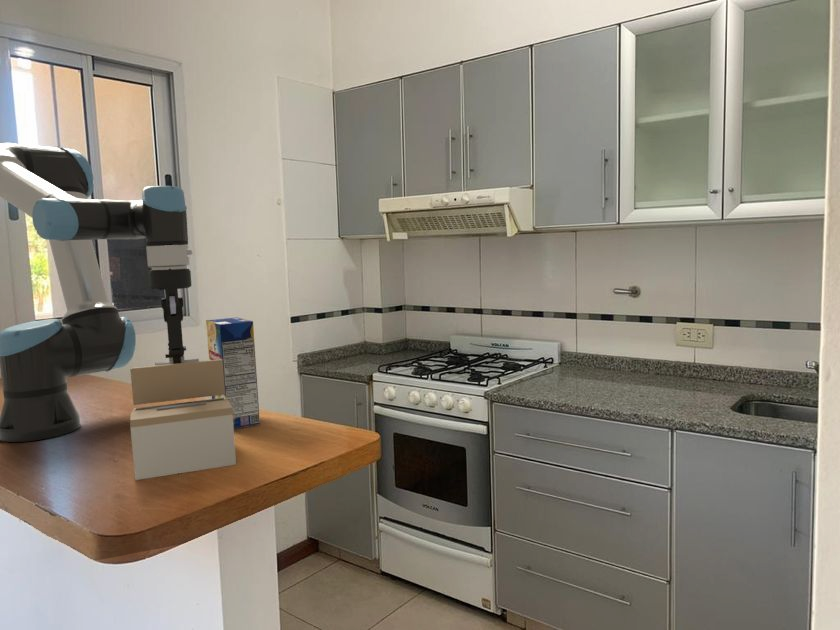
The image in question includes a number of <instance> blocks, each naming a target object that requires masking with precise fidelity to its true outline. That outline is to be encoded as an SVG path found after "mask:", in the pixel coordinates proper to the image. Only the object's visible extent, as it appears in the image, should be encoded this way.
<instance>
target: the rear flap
mask: <svg viewBox="0 0 840 630" xmlns="http://www.w3.org/2000/svg"><path fill="white" fill-rule="evenodd" d="M184 361H185V363H177V364H169V361H160V362H155V363H154V365H150V366H149V365H148V366H139V367H130V380H131V392H132V402H133V406H137V405H138V406H139V405H145V404H153V403H163V402H171V401H180V400H188V399H189V400H190V399H197V398H205V397H208V398H209V397H212V396H216V395H225V385H224V371H223V360H222V359H219V360H209V359H207V360H200V359H199V358H192V359H184Z"/></svg>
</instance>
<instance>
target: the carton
mask: <svg viewBox="0 0 840 630" xmlns="http://www.w3.org/2000/svg"><path fill="white" fill-rule="evenodd" d="M129 425H130V435H131V436H130V437H131V449H132V458H133V470H134V472H133V473H134V480H135V481H139V480H145V479H153V478H159V477H165V476H166V477H167V476H171V475H177V474H178V473H179V474H184V473H190V472H196V471H203V470H209V469H210V470H211V469H216V468H224V467H230V466H235V465H236V466H237V459H236V458H237V457H236V447H235V446H236V444H235V431H234V430H235V429H234V428H233V415H232V407H231V405H230V402H229V400H226V399H225V398H218V399H212V398H210V399H203V400H202V399H201V400H193V401H186V402H177V403H169V404H168V403H167V404H160V405H152V406H144V407H136V408H133V410H131V413H130V417H129ZM179 474H178V475H179Z"/></svg>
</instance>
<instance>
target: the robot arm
mask: <svg viewBox="0 0 840 630" xmlns="http://www.w3.org/2000/svg"><path fill="white" fill-rule="evenodd" d="M93 181H94V174H93V170H92V166H91V165H90V163H89V161H88V160H87V158H86V156H84V155H83V153H81V152H79V151H78V150H75V149H73V148H71V149H70V148H65V147H62V146H54V147H53V146H41V145H31V144H20V143H12V142H4V143H0V200H2V201H6V202H7V203H9V204H11V205H12V206H13V207H16V209H18V210H20V211H21V212H23V213H24V214H26V215H28V216H29V217H30V218H32V224H33V228H34V230H35V231H36V233H37V235H38V236H39V238H41V239H42V240H43V239H44V240H46V241H49V245H50V249H51V253H52V258H53V261H54V265H55V268H56V271H57V276H58V281H59V283H60V288H61V292H62V297H63V299H64V304H65V308H66V313H65V314H64V315H63V317H62V318H61V320H60V319H58V318H47V319H40V320H34V321H28V322H25V323H24V322H23V323H19V324H15V325H13V326H12V325H11V326H9V327H7V328H4V329H3V330H1V332H0V374H1V383H2V384H1V385H2V393H3V404H2V408H1V412H0V441H1V442H8V443H11V442H12V443H19V442H21V443H22V442H24V443H25V442H33V441H38V440H39V441H40V440H46V439H51V438H55V437H59V436H62V435H66V434H69V433H72V432H74V431H76V430H78V429H79V428H80V427H81V420H80V414H79V412H78V410H77V408H76V406H75V405H74V402H73V400H72V398H71V395H70V394H69V391H68V381H67V378H73V377H80V376H84V375H91V374H95V373H96V374H97V373H101V372H111V371H113V370H117V369H120V368H124V367H126V366H127V365H129V363H130V362H131V360H132V359H133V357H134V353H135V351H136V345H137V343H136V342H137V340H136V339H137V338H136V330H135V327H134V324H133V323H132V322H131V320H130V319H129V318H127V317H125V316H120V313H119V309H118V308H117V307H116V306H115V305H113V304H111V303H109V299H108V295H107V292H106V288H105V285H104V281H103V278H102V274H101V273H102V272H101V270H100V265H99V263H98V258H97V255H96V251H95V247H94V243H93V240H94V241H95V240H128V241H130V240H131V241H133V240H135V241H138V240H141V239H145V242H146V243H145V244H146V247H145V249H146V259H147V260H146V261H147V267H148V268H151V270H149V272H148V282H149V288H150V290H154V291H161V290H163V291H164V292H165V293H164V294H165V297H164V298H160V302H161V303H160V305H161V309H162V311H163V320H164V322H165V323H166V326H167V329H166V330H167V338H168V343H167V349H168V350H167V351H168V353H167V354H164V356H165V359H168V360H169V361H168V362H169V364H177V363H185V361H184V360H185V351H187V346H184V345H183V344H184V342H183V332H182V331H183V330H182V322H183V320H184V313H183V311H184V310H183V309H184V298H183V297H179V291H178V289H179V290H180V289H188V288H191V287H192V276H191V275H192V274H191V270H190V268H187V266H189V265H190V264H191V263H190V257H189V256H191V255H193V250H192V249H189V234H188V233H189V232H188V216H187V206H186V205H187V204H186V201H185V200H186V199H185V192H184V189H182V187H180V186H175V185H174V186H173V185H149V186H145V187H144V188H143V190H142V191H141V195H142V196H141V199H139V200H123V199H122V200H121V199H120V200H119V199H117V200H116V199H89V197H90V196H91V195H92V194H93V192H94V186H95V185H94V182H93Z"/></svg>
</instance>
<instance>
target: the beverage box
mask: <svg viewBox="0 0 840 630" xmlns="http://www.w3.org/2000/svg"><path fill="white" fill-rule="evenodd" d="M205 322H206V323H205V325H206V326H205V327H206V337H207V339H206V340H207V350H208V351H207V353H208V360H219V359H222V360H223V371H224V385H225V395H216V396H211V399H218V398H225V399H226V400H229V402H230V405H231V407H232V415H233V428H234V430H236V429H242V427H243V428H248V427H253V426H252V425H254V426H258V425H257V424H259V425H261V422H260V421H261V420H260V408H259V405H260V404H259V392H258V390H259V389H258V376H257V374H258V373H257V363H256V359H257V358H256V348H255V347H256V346H255V333H254V332H255V331H254V321H253V320H249V319H245V318H242V317H237V316H236V317H229V318H219V319H218V318H217V319H215V318H214V319H207V320H205ZM247 426H248V427H247Z"/></svg>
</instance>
